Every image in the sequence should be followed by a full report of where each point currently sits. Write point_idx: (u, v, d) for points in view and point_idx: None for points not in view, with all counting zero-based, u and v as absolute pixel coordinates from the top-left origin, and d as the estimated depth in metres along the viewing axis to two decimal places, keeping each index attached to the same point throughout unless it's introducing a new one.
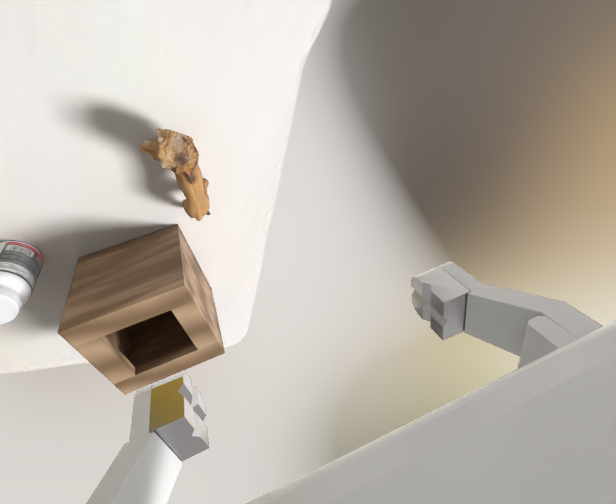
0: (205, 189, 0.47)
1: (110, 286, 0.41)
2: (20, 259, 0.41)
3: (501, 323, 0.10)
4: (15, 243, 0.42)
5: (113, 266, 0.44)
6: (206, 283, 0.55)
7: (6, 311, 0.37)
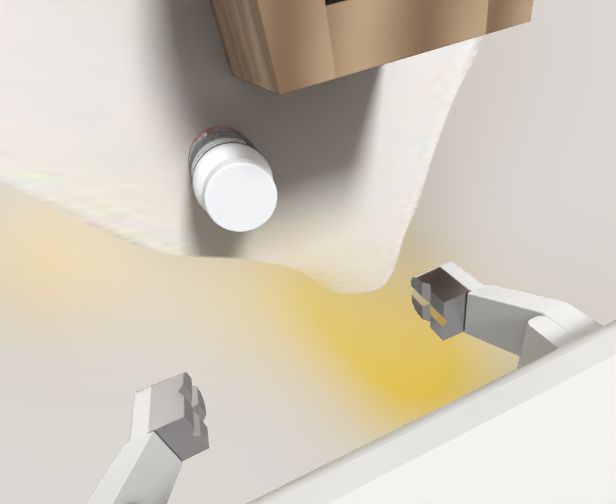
0: None
1: None
2: (198, 147, 0.25)
3: (501, 323, 0.10)
4: (189, 152, 0.27)
5: None
6: None
7: (250, 181, 0.21)
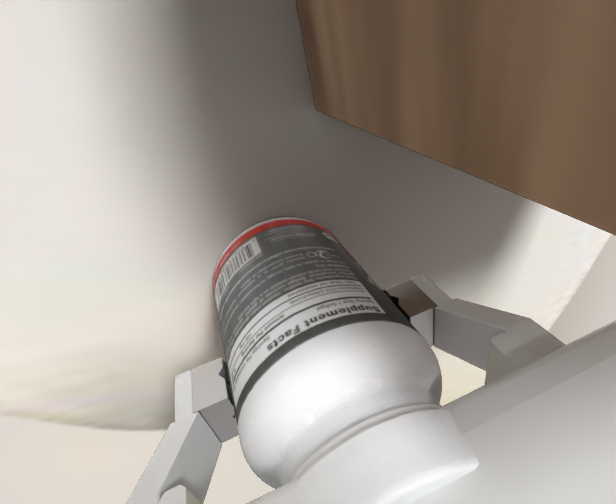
0: None
1: None
2: (244, 293, 0.10)
3: (468, 338, 0.10)
4: (215, 275, 0.13)
5: None
6: None
7: None
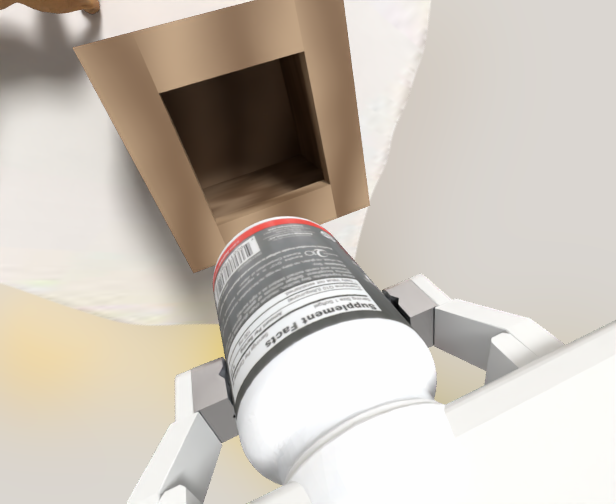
0: None
1: None
2: (243, 291, 0.10)
3: (468, 338, 0.10)
4: (215, 273, 0.13)
5: None
6: None
7: None
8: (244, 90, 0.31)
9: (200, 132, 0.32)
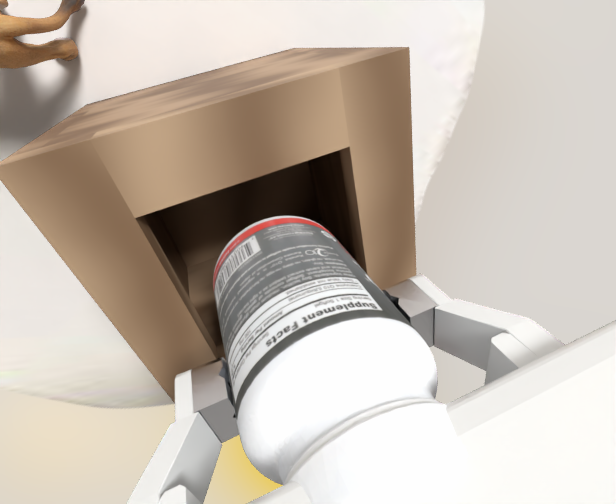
0: None
1: None
2: (244, 291, 0.10)
3: (468, 338, 0.10)
4: (215, 273, 0.13)
5: None
6: (258, 59, 0.22)
7: None
8: None
9: (198, 200, 0.25)
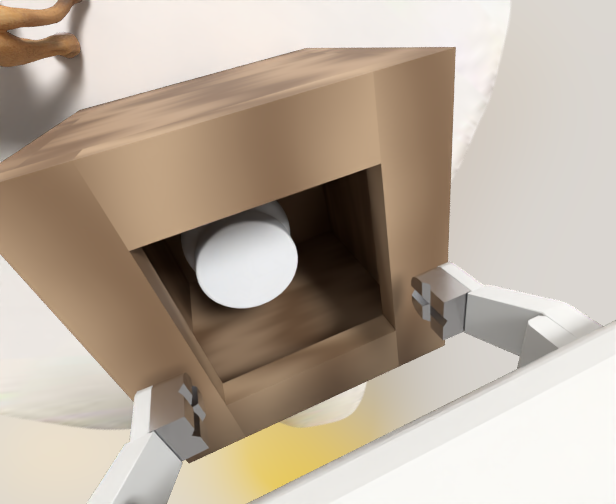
0: None
1: None
2: None
3: (501, 323, 0.10)
4: None
5: None
6: (268, 60, 0.20)
7: (261, 244, 0.15)
8: None
9: None
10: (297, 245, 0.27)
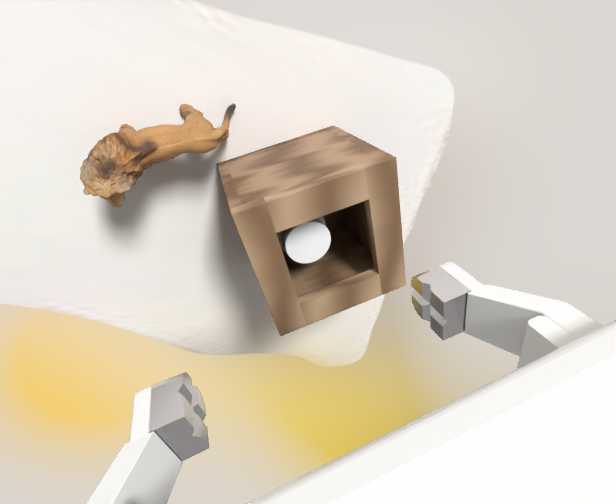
0: (191, 111, 0.33)
1: None
2: None
3: (501, 323, 0.10)
4: None
5: None
6: (314, 136, 0.37)
7: (314, 231, 0.32)
8: None
9: None
10: None
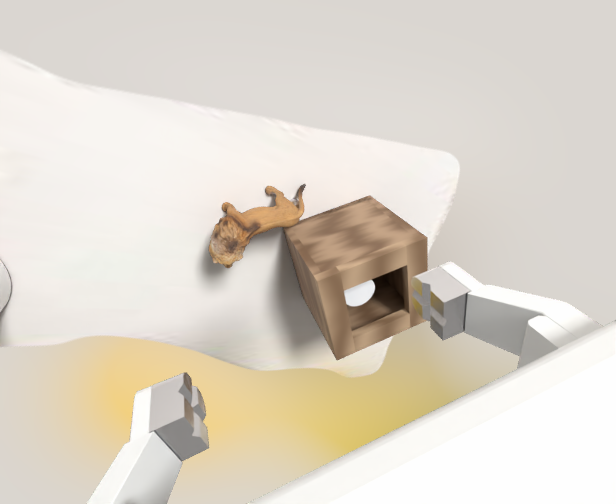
0: (275, 192, 0.44)
1: (316, 310, 0.46)
2: None
3: (501, 323, 0.10)
4: None
5: (306, 292, 0.49)
6: (357, 206, 0.49)
7: (364, 284, 0.44)
8: None
9: None
10: None
